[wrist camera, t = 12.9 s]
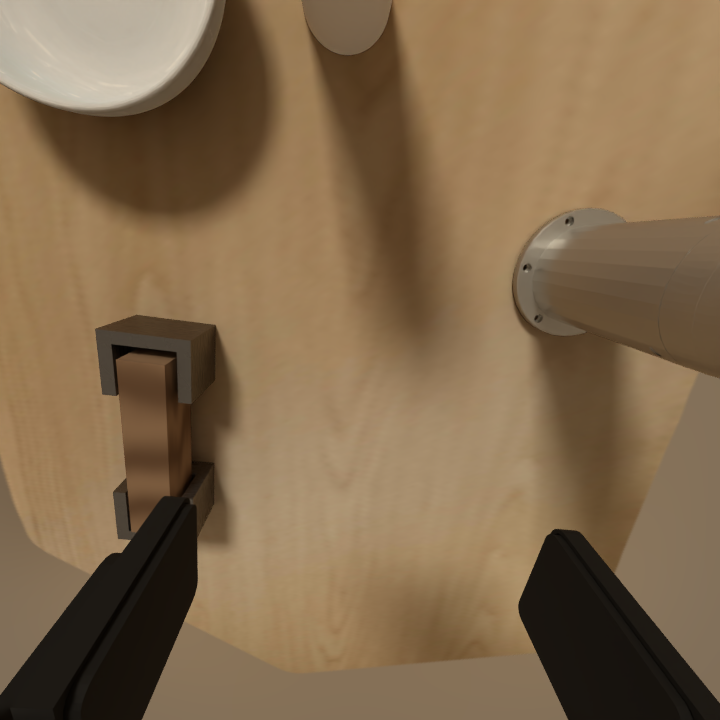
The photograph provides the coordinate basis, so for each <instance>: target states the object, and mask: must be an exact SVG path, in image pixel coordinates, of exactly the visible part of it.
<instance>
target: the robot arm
mask: <svg viewBox="0 0 720 720" xmlns="http://www.w3.org/2000/svg"><path fill="white" fill-rule="evenodd" d="M565 220H566V223H565ZM524 265H525V269H524V270H523V267H524ZM513 294H514V298H515V302H516V305H517V307H518V309H519V311H520V313H521V314H522V316H523V317H524V318H525V319H526V321H527V322H529V323H530V324H531V325H532V326H534V327H535V328H537V329H539V330H541V331H543V332H546V333H549V334H551V335H557V336H575V335H579V334H583V333H587V332H590V333H593V334H595V335H598V336H601V337H604V338H606V339H609V340H612V341H615V342H617V343H620V344H623V345H626V346H628V347H631V348H634V349H637V350H639V351H642V352H645V353H648V354H650V355H653V356H656V357H659V358H661V359H664V360H667V361H670V362H672V363H675V364H678V365H681V366H683V367H686V368H690V369H693V370H695V371H698V372H701V373H704V374H707V375H710V376H713V377H717V378H720V216H707V217H693V218H680V219H666V220H653V221H640V222H626V221H625V220H624V219H623V218H622V217H620V216H619V215H617V214H615V213H614V212H611V211H608V210H604V209H599V208H585V209H577V210H573V211H569V212H565V213H563V214H561V215H559V216H557V217H555V218H553V219H551V220H550V221H548V222H547V223H546V224H544V225H543V226H542V227H541V228H540V229H538V230H537V231H536V232H535V233H534V234H533V235H532V237H531V238H530V239H529V241H528V242H527V243H526V245H525V246H524V248H523V250H522V252H521V254H520V256H519V258H518V261H517V264H516V267H515V271H514V277H513ZM535 316H536V318H535ZM534 318H535V319H534ZM197 582H198V570H197V506H196V505H193V504H190V499H189V498H186V497H174V496H164V497H162V498H161V499H160V501H159V502H158V503H157V505H156V506H155V508H154V509H153V510H152V512H151V513H150V514H149V516H148V517H147V519H146V520H145V521H144V523H143V524H142V526H141V527H140V528H139V530H138V531H137V532H136V534H135V535H134V537H133V538H132V539H131V541H130V542H129V544H128V545H127V546H126V548H125V549H124V550H123V552H122V553H112V554H111V555H109V556H108V557H106V558H105V559H104V561H103V562H102V563H101V564H100V565H99V566H98V568H97V569H96V570H95V572H94V573H93V574H92V576H91V577H90V578H89V580H88V581H87V582H86V584H85V585H84V586H83V587H82V589H81V590H80V591H79V593H78V594H77V596H76V597H75V598H74V599H73V601H72V602H71V603H70V605H69V606H68V607H67V608H66V610H65V611H64V612H63V614H62V615H61V616H60V618H59V619H58V620H57V622H56V623H55V624H54V625H53V627H52V628H51V629H50V631H49V632H48V633H47V635H46V636H45V637H44V639H43V640H42V641H41V642H40V644H39V645H38V646H37V648H36V649H35V650H34V652H33V653H32V654H31V656H30V657H29V658H28V660H27V661H26V662H25V663H24V665H23V666H22V667H21V669H20V670H19V671H18V673H17V674H16V675H15V677H14V678H13V679H12V680H11V682H10V683H9V684H8V686H7V687H6V688H5V690H4V691H3V692H2V694H1V695H0V720H142V718H143V715H144V713H145V711H146V709H147V706H148V704H149V701H150V699H151V697H152V694H153V692H154V690H155V687H156V685H157V683H158V680H159V678H160V676H161V673H162V671H163V668H164V666H165V664H166V662H167V659H168V657H169V655H170V652H171V650H172V648H173V645H174V643H175V641H176V638H177V636H178V634H179V631H180V629H181V627H182V624H183V622H184V620H185V617H186V615H187V613H188V610H189V608H190V606H191V603H192V601H193V598H194V596H195V592H196V588H197ZM518 608H519V614H520V617H521V620H522V622H523V624H524V626H525V628H526V631H527V633H528V635H529V637H530V639H531V641H532V643H533V645H534V648H535V650H536V652H537V654H538V656H539V658H540V660H541V663H542V665H543V667H544V669H545V671H546V673H547V675H548V677H549V680H550V682H551V683H552V686H553V688H554V690H555V692H556V695H557V696H558V699H559V701H560V703H561V705H562V707H563V709H564V712H565V713H566V716H567V718H568V720H720V703H719V702H718V701H717V699H716V698H715V697H714V696H713V695H712V693H711V692H710V691H709V690H708V688H707V687H706V686H705V685H704V683H703V682H702V681H701V680H700V679H699V677H698V676H697V675H696V674H695V672H694V671H693V670H692V669H691V668H690V666H689V665H688V664H687V663H686V661H685V660H684V659H683V658H682V657H681V655H680V654H679V653H678V652H677V650H676V649H675V648H674V647H673V646H672V644H671V643H670V642H669V641H668V639H667V638H666V637H665V636H664V634H663V633H662V632H661V631H660V629H659V628H658V627H657V626H656V625H655V623H654V622H653V621H652V620H651V618H650V617H649V616H648V615H647V614H646V612H645V611H644V610H643V609H642V608H641V606H640V605H639V604H638V603H637V601H636V600H635V599H634V598H633V596H632V595H631V594H630V593H629V592H628V590H627V589H626V588H625V587H624V586H623V584H622V583H621V582H620V580H619V579H618V578H617V577H616V575H615V574H614V573H613V572H612V571H611V569H610V568H609V567H608V566H607V564H606V563H605V562H604V561H603V560H602V558H601V557H600V556H599V555H598V553H597V552H596V551H595V550H594V548H593V547H592V546H591V545H590V544H589V542H588V541H587V540H586V539H585V537H584V536H583V535H582V534H581V533H580V532H578V531H573V530H561V529H554V530H553V531H552V532H551V534H549V535H547V536H546V538H545V541H544V543H543V545H542V548H541V550H540V553H539V555H538V557H537V560H536V562H535V565H534V567H533V569H532V572H531V574H530V577H529V579H528V581H527V584H526V586H525V589H524V591H523V593H522V596H521V598H520V601H519V605H518Z"/></svg>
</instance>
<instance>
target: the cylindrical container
mask: <svg viewBox="0 0 720 720" xmlns="http://www.w3.org/2000/svg"><path fill="white" fill-rule="evenodd" d="M391 4H392V0H302V5H303V11H304V15H305V18H306V21H307V24H308V26H309V28H310V30H311V32H312V33H313V35H314V36H315V38H316V39H317V40H318V41H319V42H320V43H321V44H322V45H323V46H324V47H326V48H327V49H329V50H330V51H332V52H335V53H337V54H341V55H355V54H359V53H361V52H364V51H366V50H367V49H369V48H370V47H371V46H373V44H374V43H375V42H376V41H377V40H378V39H379V37H380V36H381V34H382V33H383V31H384V29H385V27H386V24H387V22H388V17H389V13H390V9H391Z"/></svg>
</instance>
